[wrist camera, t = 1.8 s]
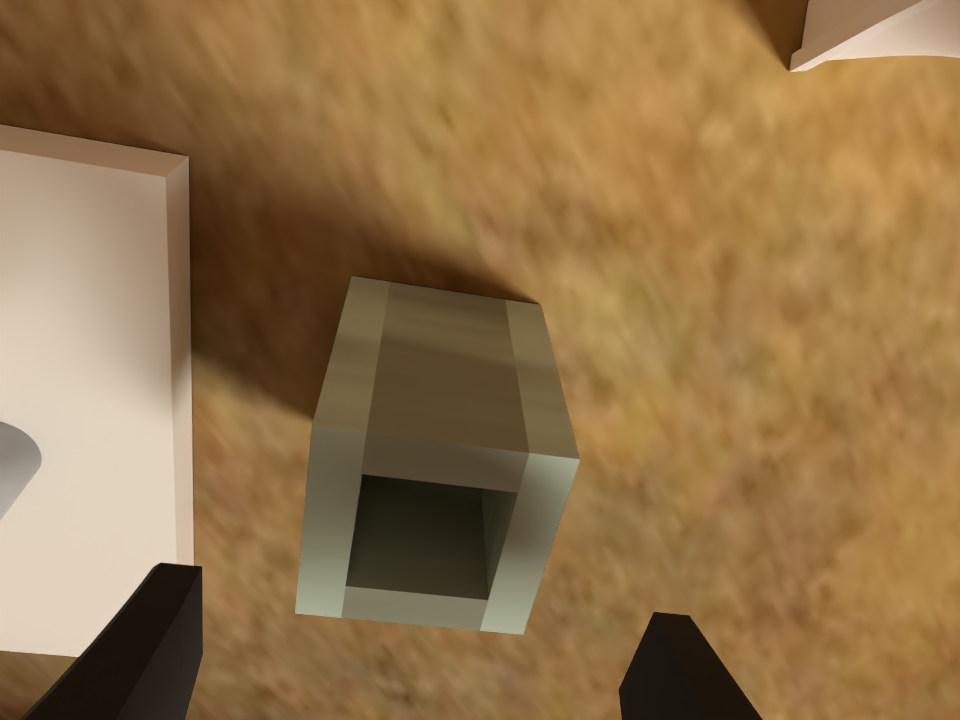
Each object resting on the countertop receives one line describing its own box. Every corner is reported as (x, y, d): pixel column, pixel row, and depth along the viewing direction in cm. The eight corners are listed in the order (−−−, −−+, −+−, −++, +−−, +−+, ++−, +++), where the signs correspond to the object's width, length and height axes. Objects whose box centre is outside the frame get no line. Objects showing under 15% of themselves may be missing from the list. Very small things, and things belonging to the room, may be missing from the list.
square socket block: (503, 452, 20) (522, 634, 15) (335, 431, 19) (295, 613, 14) (541, 305, 18) (579, 459, 13) (352, 276, 17) (311, 425, 12)
